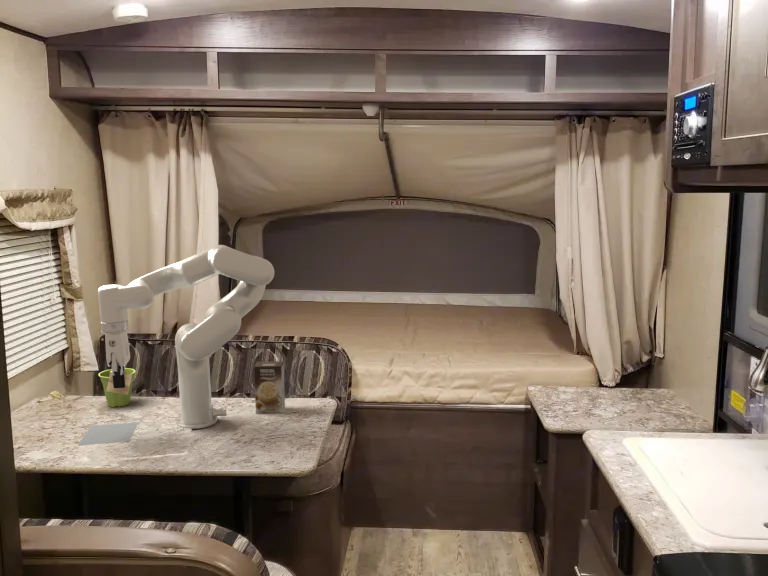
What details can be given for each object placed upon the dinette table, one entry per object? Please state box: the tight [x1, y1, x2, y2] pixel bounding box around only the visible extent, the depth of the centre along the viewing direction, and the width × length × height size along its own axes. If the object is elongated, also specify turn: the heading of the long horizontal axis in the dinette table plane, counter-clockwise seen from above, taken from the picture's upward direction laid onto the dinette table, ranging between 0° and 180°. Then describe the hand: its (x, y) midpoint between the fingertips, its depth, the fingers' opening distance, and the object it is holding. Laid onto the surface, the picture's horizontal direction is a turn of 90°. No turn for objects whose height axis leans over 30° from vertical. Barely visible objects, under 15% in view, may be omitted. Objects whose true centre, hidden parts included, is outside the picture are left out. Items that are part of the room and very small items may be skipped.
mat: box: [77, 421, 139, 446], centre depth 198 cm, size 14×16×1 cm
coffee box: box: [253, 361, 286, 415], centre depth 216 cm, size 9×6×16 cm
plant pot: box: [98, 367, 136, 408], centre depth 226 cm, size 12×12×11 cm
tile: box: [106, 371, 132, 395], centre depth 196 cm, size 6×2×6 cm, turn 101°
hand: (120, 386), depth 197 cm, fingers closed on tile, 1 cm apart
